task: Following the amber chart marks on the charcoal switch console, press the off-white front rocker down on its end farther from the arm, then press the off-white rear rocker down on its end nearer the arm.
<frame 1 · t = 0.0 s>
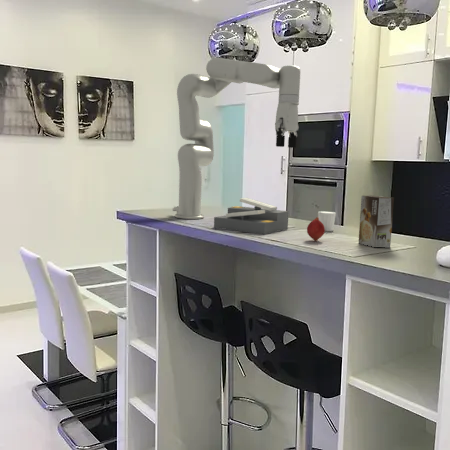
hand: (286, 147, 190), 31 cm above the table, fingers open, 9 cm apart
front rocker: (245, 213, 188), point 6 cm above the table, hinge at -10.0°
onion: (315, 241, 170), on the table
rear rocker: (258, 204, 195), point 9 cm above the table, hinge at 10.0°
coffee box: (373, 246, 165), on the table
white cup: (325, 230, 197), on the table
switch console: (251, 228, 193), on the table
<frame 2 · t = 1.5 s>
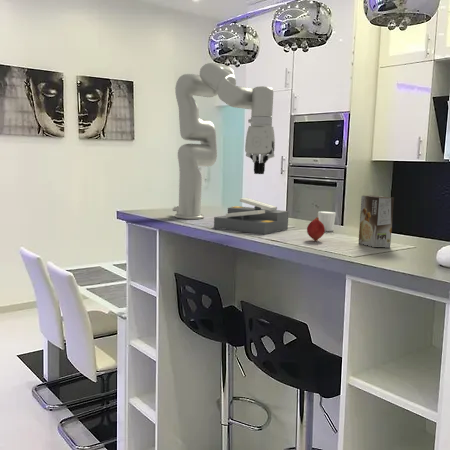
hand: (259, 173, 184), 21 cm above the table, fingers closed
nothing on the table moved.
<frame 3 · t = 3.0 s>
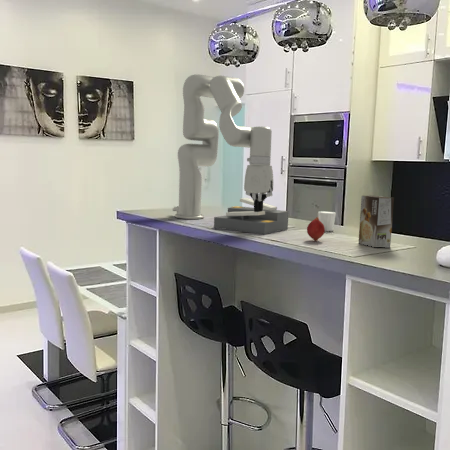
hand: (258, 211, 185), 7 cm above the table, fingers closed
front rocker: (245, 213, 188), point 6 cm above the table, hinge at -6.2°, touching gripper
everything else where it was.
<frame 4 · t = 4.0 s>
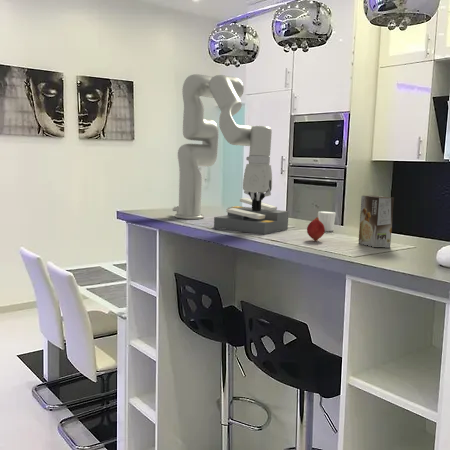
hand: (256, 210, 186), 7 cm above the table, fingers closed
front rocker: (245, 213, 188), point 6 cm above the table, hinge at 5.7°
everything else where it was.
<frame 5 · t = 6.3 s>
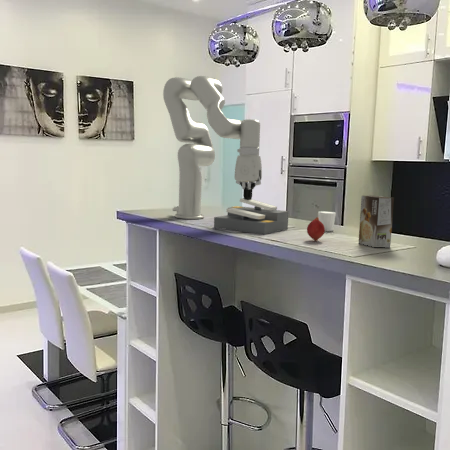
hand: (247, 199, 198), 11 cm above the table, fingers closed
rear rocker: (258, 204, 195), point 9 cm above the table, hinge at 9.6°, touching gripper
everything else where it was.
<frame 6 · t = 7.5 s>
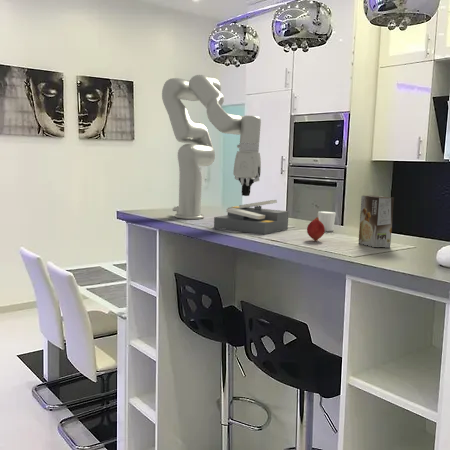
hand: (245, 195, 198), 12 cm above the table, fingers closed
rear rocker: (257, 204, 195), point 9 cm above the table, hinge at -12.5°, touching switch console
everything else where it was.
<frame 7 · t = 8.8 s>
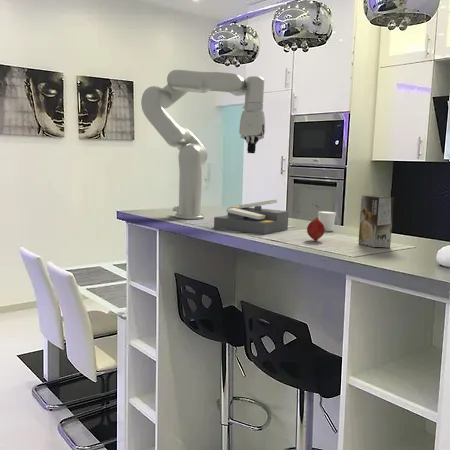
hand: (251, 153, 210), 29 cm above the table, fingers closed
nothing on the table moved.
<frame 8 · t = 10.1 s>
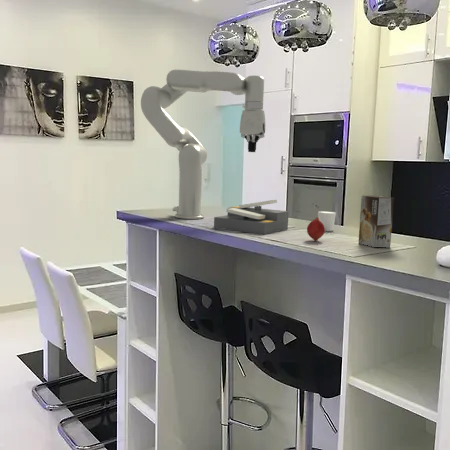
hand: (251, 152, 210), 29 cm above the table, fingers closed
nothing on the table moved.
at the end: front rocker at +6° (first picture: -10°); rear rocker at -12° (first picture: +10°) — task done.
